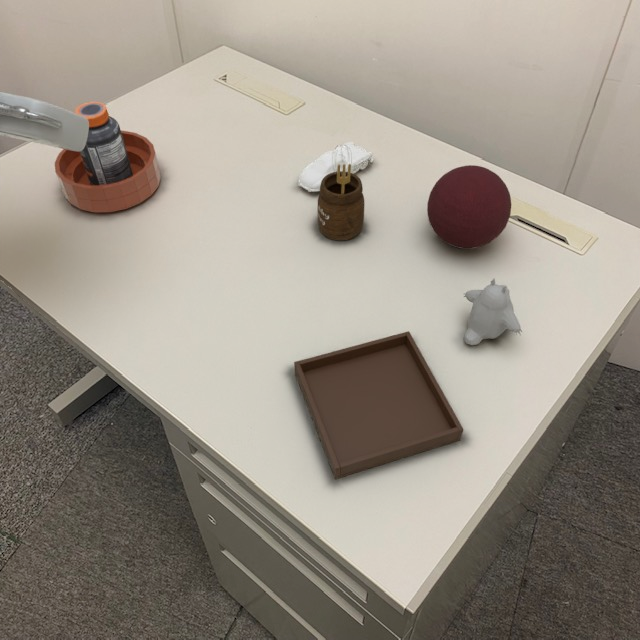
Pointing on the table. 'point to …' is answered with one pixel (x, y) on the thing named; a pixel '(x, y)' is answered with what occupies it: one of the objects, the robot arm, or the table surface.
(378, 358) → the tray
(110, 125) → the pill bottle
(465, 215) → the decorative ball
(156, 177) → the bowl
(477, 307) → the figurine
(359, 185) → the utensil holder
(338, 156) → the toy car
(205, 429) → the table surface
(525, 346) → the table surface
